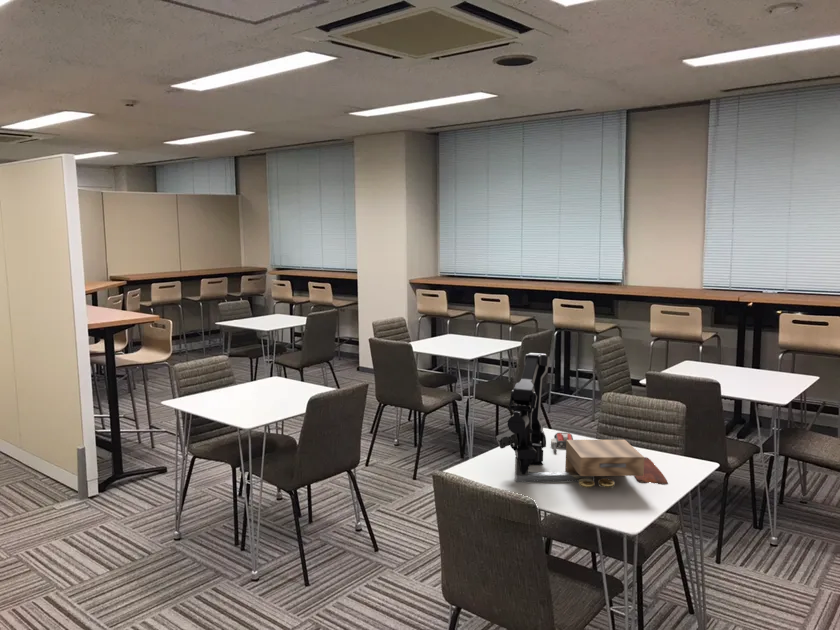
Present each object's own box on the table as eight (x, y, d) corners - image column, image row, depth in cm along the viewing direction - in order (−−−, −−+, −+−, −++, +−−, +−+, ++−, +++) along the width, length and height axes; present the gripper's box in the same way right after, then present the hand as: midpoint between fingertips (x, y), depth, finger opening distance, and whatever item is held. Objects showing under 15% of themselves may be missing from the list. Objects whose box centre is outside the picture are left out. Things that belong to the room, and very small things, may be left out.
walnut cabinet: (580, 495, 205) (581, 458, 203) (565, 473, 224) (566, 439, 222) (643, 495, 206) (645, 458, 204) (623, 473, 224) (624, 439, 223)
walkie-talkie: (549, 438, 264) (552, 454, 245) (549, 428, 264) (552, 443, 244) (571, 439, 263) (576, 456, 243) (572, 429, 262) (576, 444, 243)
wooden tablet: (669, 486, 215) (669, 481, 214) (637, 484, 216) (637, 479, 216) (651, 459, 241) (651, 454, 241) (623, 457, 242) (623, 453, 242)
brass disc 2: (601, 488, 211) (601, 484, 211) (596, 482, 216) (596, 478, 216) (616, 488, 212) (616, 483, 211) (611, 482, 217) (611, 478, 216)
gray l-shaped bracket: (516, 482, 216) (516, 459, 215) (514, 479, 219) (515, 456, 218) (593, 481, 217) (594, 458, 216) (591, 478, 220) (591, 455, 219)
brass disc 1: (581, 488, 211) (581, 484, 211) (576, 482, 216) (577, 478, 216) (596, 488, 211) (596, 484, 211) (591, 482, 216) (591, 478, 216)
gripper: (494, 417, 225) (493, 461, 227) (502, 433, 206) (501, 481, 208) (526, 417, 225) (525, 461, 227) (538, 433, 207) (536, 481, 209)
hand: (521, 470), depth 218 cm, fingers open, 6 cm apart
